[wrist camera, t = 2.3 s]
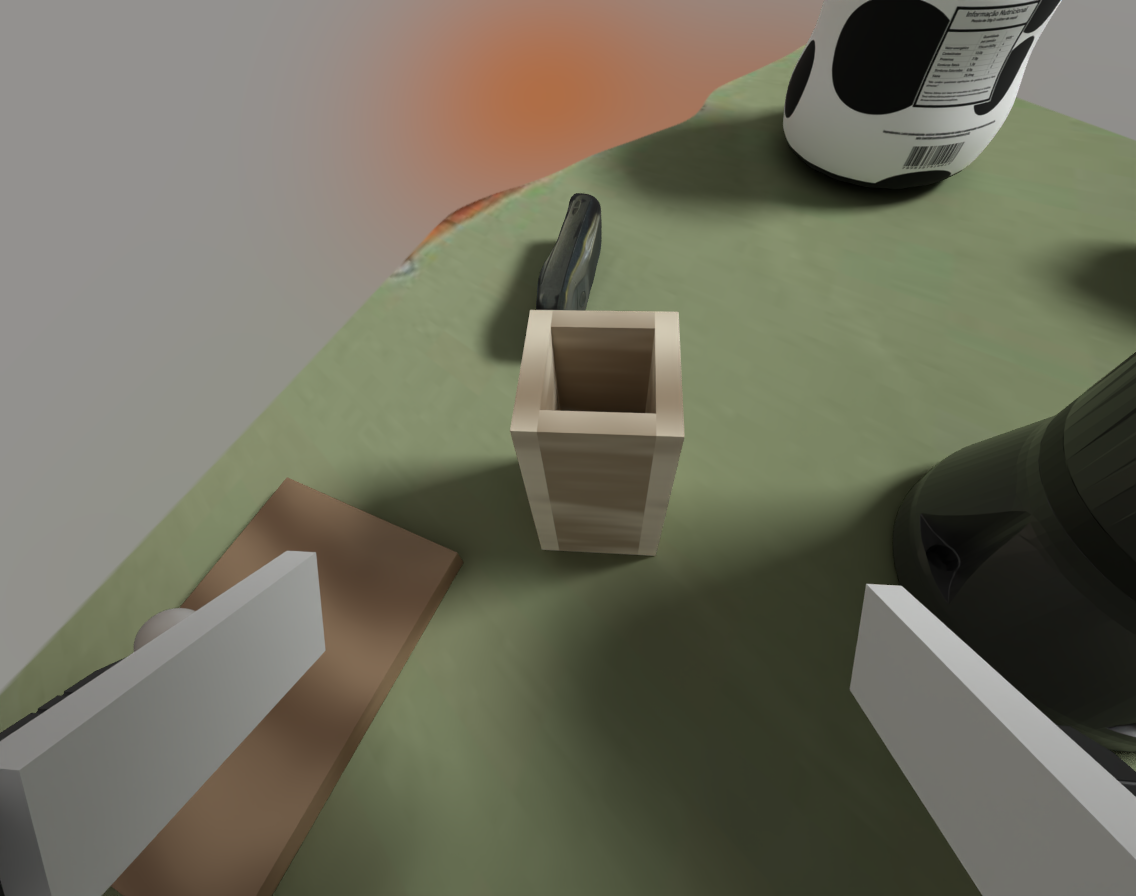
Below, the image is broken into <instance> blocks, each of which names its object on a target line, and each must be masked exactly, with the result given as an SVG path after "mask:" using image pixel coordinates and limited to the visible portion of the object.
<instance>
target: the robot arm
mask: <svg viewBox="0 0 1136 896" xmlns="http://www.w3.org/2000/svg"><path fill="white" fill-rule="evenodd" d="M893 554H894V561H895V567H896V571H897V575H898V579H899V582H900V585H901V586H896V585H878V584H866V588H865V595H864V601H863V608H862V614H861V620H860V627H859V633H858V640H857V646H856V652H855V659H854V665H853V671H852V678H851V684H850V691H851V692H852V694H853V696H854V697H855V699H856V700H857V702H858V703H859V705H860V706H861V708H862V710H863V711H864V713H865V714H866V716H867V717H868V719H869V720H870V722H871V723H872V725H873V727H874V728H875V730H876V731H877V733H878V734H879V736H880V737H881V739H882V741H883V742H884V744H885V745H886V747H887V748H888V750H889V751H890V753H891V755H892V756H893V758H894V759H895V761H896V762H897V764H898V765H899V767H900V769H901V770H902V772H903V773H904V775H905V776H906V778H907V779H908V781H909V782H910V784H911V786H912V787H913V789H914V790H915V792H916V793H917V795H918V796H919V798H920V800H921V801H922V803H923V804H924V806H925V807H926V809H927V810H928V812H929V814H930V815H931V817H932V818H933V820H934V821H935V823H936V824H937V826H938V827H939V829H940V831H941V832H942V834H943V835H944V837H945V838H946V840H947V841H948V843H949V845H950V846H951V848H952V849H953V851H954V852H955V854H956V855H957V857H958V859H959V860H960V862H961V863H962V865H963V866H964V868H965V869H966V871H967V873H968V874H969V876H970V877H971V879H972V880H973V882H974V883H975V885H976V886H977V888H978V890H979V891H980V893H981V894H982V896H1136V772H1135V771H1134V770H1133V769H1132V768H1131V767H1130V766H1128V765H1127V764H1126V763H1125V762H1124V761H1122V760H1121V759H1120V758H1119V757H1118V756H1117V755H1115V754H1114V753H1113V752H1112V751H1110V750H1115V751H1127V752H1136V352H1135V353H1134V354H1133V355H1131V356H1130V357H1129V358H1127V359H1126V360H1125V361H1124V362H1122V363H1121V364H1120V365H1119V366H1117V367H1116V368H1115V369H1113V370H1112V371H1111V372H1110V373H1108V374H1107V375H1106V376H1104V377H1103V378H1102V379H1101V380H1099V381H1098V382H1097V383H1095V384H1094V385H1093V386H1092V387H1090V388H1089V389H1088V390H1087V391H1086V392H1084V393H1083V394H1082V395H1081V396H1080V397H1078V398H1077V399H1076V400H1075V401H1073V402H1072V403H1071V404H1069V405H1068V406H1067V407H1066V408H1064V409H1063V410H1062V411H1061V412H1059V413H1058V414H1057V415H1055V416H1052V417H1050V418H1047V419H1044V420H1041V421H1038V422H1035V423H1032V424H1030V425H1027V426H1024V427H1021V428H1018V429H1015V430H1012V431H1010V432H1007V433H1004V434H1001V435H998V436H995V437H992V438H990V439H987V440H984V441H981V442H978V443H975V444H972V445H970V446H967V447H965V448H963V449H961V450H959V451H957V452H955V453H953V454H951V455H950V456H948V457H947V458H945V459H943V460H942V461H941V462H939V463H938V464H937V465H936V466H935V467H934V468H932V469H931V470H930V471H929V472H928V473H927V474H926V475H925V476H924V477H923V478H922V479H921V480H920V481H919V482H917V483H916V484H915V485H914V486H913V488H912V489H911V490H910V491H909V492H908V494H907V495H906V497H905V498H904V500H903V502H902V504H901V506H900V508H899V511H898V513H897V517H896V520H895V525H894V531H893ZM325 651H326V650H325V640H324V629H323V619H322V609H321V598H320V588H319V578H318V567H317V557H316V552H302V551H286V552H284V553H283V554H281V555H280V556H278V557H277V558H275V559H274V560H272V561H271V562H269V563H268V564H266V565H265V566H263V567H262V568H260V569H259V570H257V571H256V572H254V573H253V574H251V575H250V576H248V577H247V578H245V579H244V580H242V581H241V582H239V583H237V584H236V585H234V586H233V587H231V588H230V589H228V590H227V591H225V592H224V593H222V594H221V595H219V596H218V597H216V598H215V599H213V600H212V601H210V602H209V603H207V604H206V605H204V606H203V607H201V608H200V609H198V610H197V611H195V612H194V613H192V614H191V615H189V616H188V617H186V618H185V619H183V620H182V621H180V622H179V623H177V624H176V625H174V626H173V627H171V628H170V629H168V630H167V631H165V632H164V633H162V634H161V635H159V636H158V637H156V638H155V639H153V640H152V641H150V642H149V643H147V644H146V645H144V646H143V647H141V648H140V649H138V650H137V651H135V652H134V653H132V654H131V655H129V656H128V657H126V658H123V659H121V660H119V661H117V662H115V663H112V664H110V665H108V666H106V667H104V668H101V669H99V670H97V671H95V672H93V673H92V674H90V675H89V676H87V677H86V678H84V679H83V680H81V681H79V682H78V683H76V684H75V685H73V686H72V687H70V688H69V689H67V690H66V691H64V694H63V695H62V696H56V697H55V698H53V699H52V700H50V701H49V702H47V703H46V704H44V705H43V706H41V707H40V708H38V711H37V712H36V713H30V714H29V715H27V716H26V717H24V718H23V719H21V720H20V721H18V722H17V723H15V724H13V725H12V726H10V727H9V728H7V729H6V730H4V731H3V732H1V733H0V896H102V895H103V894H104V892H105V891H106V890H107V889H108V888H109V887H110V886H111V885H112V884H113V883H114V882H115V880H116V879H117V878H118V877H119V876H120V875H121V874H122V873H123V872H124V871H125V869H126V868H127V867H128V866H129V865H130V864H131V863H132V862H133V861H134V860H135V859H136V857H137V856H138V855H139V854H140V853H141V852H142V851H143V850H144V849H145V848H146V846H147V845H148V844H149V843H150V842H151V841H152V840H153V839H154V838H155V837H156V836H157V834H158V833H159V832H160V831H161V830H162V829H163V828H164V827H165V826H166V825H167V824H168V822H169V821H170V820H171V819H172V818H173V817H174V816H175V815H176V814H177V813H178V811H179V810H180V809H181V808H182V807H183V806H184V805H185V804H186V803H187V802H188V801H189V799H190V798H191V797H192V796H193V795H194V794H195V793H196V792H197V791H198V790H199V789H200V787H201V786H202V785H203V784H204V783H205V782H206V781H207V780H208V779H209V778H210V776H211V775H212V774H213V773H214V772H215V771H216V770H217V769H218V768H219V767H220V766H221V764H222V763H223V762H224V761H225V760H226V759H227V758H228V757H229V756H230V755H231V753H232V752H233V751H234V750H235V749H236V748H237V747H238V746H239V745H240V744H241V743H242V741H243V740H244V739H245V738H246V737H247V736H248V735H249V734H250V733H251V732H252V731H253V729H254V728H255V727H256V726H257V725H258V724H259V723H260V722H261V721H262V720H263V718H264V717H265V716H266V715H267V714H268V713H269V712H270V711H271V710H272V709H273V708H274V706H275V705H276V704H277V703H278V702H279V701H280V700H281V699H282V698H283V697H284V696H285V694H286V693H287V692H288V691H289V690H290V689H291V688H292V687H293V686H294V685H295V683H296V682H297V681H298V680H299V679H300V678H301V677H302V676H303V675H304V674H305V673H306V671H307V670H308V669H309V668H310V667H311V666H312V665H313V664H314V663H315V662H316V660H317V659H318V658H319V657H320V656H321V655H322V654H323V653H324V652H325Z"/></svg>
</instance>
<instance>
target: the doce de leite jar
mask: <svg viewBox="0 0 1136 896" xmlns="http://www.w3.org/2000/svg"><path fill="white" fill-rule="evenodd" d="M1061 1H1062V0H824V2H823V6H822V9H821V13H820V15H819V18H818V21H817V24H816V27H815V28H814V31H813V33H812V35H811V37H810V39H809V41H808V43H807V45H806V46H805V48H804V50H803V52H802V54H801V56H800V58H799V60H798V62H797V64H796V66H795V68H794V71H793V73H792V76H791V79H790V82H789V86H788V89H787V93H786V99H785V106H784V117H783V129H784V133H785V137H786V140H787V142H788V145H789V147H790V148H791V149H792V151H793V152H794V153H795V154H796V155H797V156H799V157H800V158H801V159H802V160H803V161H804V162H805V163H806V164H807V165H808V166H809V167H811V168H813V169H815V170H817V171H819V172H821V173H824V174H826V175H827V176H829V177H831V178H833V179H835V180H839V181H843V182H848V183H852V184H856V185H859V186H864V187H873V188H890V189H901V188H908V187H913V186H922V185H929V184H932V183H936V182H938V181H941V180H944V179H946V178H948V177H951V176H953V175H955V174H957V173H959V172H960V171H961V170H963V169H964V168H965V167H967V166H968V165H969V164H970V163H972V162H973V161H974V160H975V159H976V158H977V156H978V155H979V154H980V153H981V152H982V151H983V150H984V148H985V147H986V146H987V145H988V144H989V142H990V141H991V140H992V139H993V137H994V136H995V134H996V133H997V132H998V130H999V129H1000V127H1001V126H1002V124H1003V123H1004V121H1005V119H1006V118H1007V116H1008V114H1009V112H1010V110H1011V108H1012V106H1013V103H1014V101H1015V98H1016V95H1017V93H1018V90H1019V86H1020V83H1021V80H1022V77H1023V74H1024V71H1025V68H1026V64H1027V62H1028V59H1029V57H1030V54H1031V52H1032V50H1033V48H1034V46H1035V44H1036V42H1037V40H1038V38H1039V37H1040V35H1041V33H1042V31H1043V30H1044V28H1045V26H1046V25H1047V23H1048V22H1049V20H1050V18H1051V17H1052V15H1053V13H1054V12H1055V10H1056V9H1057V7H1058V6H1059V4H1060V2H1061Z"/></svg>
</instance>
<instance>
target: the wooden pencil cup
mask: <svg viewBox="0 0 1136 896" xmlns="http://www.w3.org/2000/svg"><path fill="white" fill-rule="evenodd" d="M510 432H511V436H512V440H513V444H514V447H515V451H516V455H517V459H518V462H519V466H520V470H521V474H522V477H523V481H524V485H525V489H526V492H527V496H528V500H529V504H530V507H531V511H532V515H533V519H534V522H535V526H536V530H537V534H538V538H539V541H540V545H541V549H542V550H557V551H575V552H593V553H612V554H630V555H648V556H656V553H657V549H658V545H659V540H660V536H661V532H662V528H663V524H664V520H665V516H666V511H667V507H668V503H669V499H670V495H671V491H672V486H673V482H674V478H675V474H676V470H677V466H678V461H679V457H680V453H681V449H682V445H683V441H684V418H683V397H682V376H681V355H680V334H679V313H678V312H651V311H576V310H530V314H529V320H528V326H527V332H526V338H525V344H524V350H523V356H522V362H521V368H520V374H519V380H518V386H517V392H516V398H515V404H514V410H513V416H512V423H511V429H510Z"/></svg>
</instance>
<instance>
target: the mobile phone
mask: <svg viewBox="0 0 1136 896" xmlns="http://www.w3.org/2000/svg"><path fill="white" fill-rule="evenodd" d="M600 249H601V207H600V204H599V202H598V201H597V199H596V198H595V197H593V196H591V195H588V194H582V193H576V194H574V195H573V196H572V197H571V199H570V202H569V207H568V211H567V214H566V217H565V220H564V222H563V225H562V228H561V231H560V234H559V237H558V240H557V242H556V244H555V246H554V248H553V249H552V251H551V253H550V255H549V257H548V258H547V260H546V261H545V263H544V265H543V267H542V270H541V272H540V275H539V280H538V290H537V301H536V310H576V311H585V309H586V306H587V302H588V298H589V294H590V290H591V287H592V284H593V280H594V276H595V271H596V266H597V263H598V259H599V255H600Z"/></svg>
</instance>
